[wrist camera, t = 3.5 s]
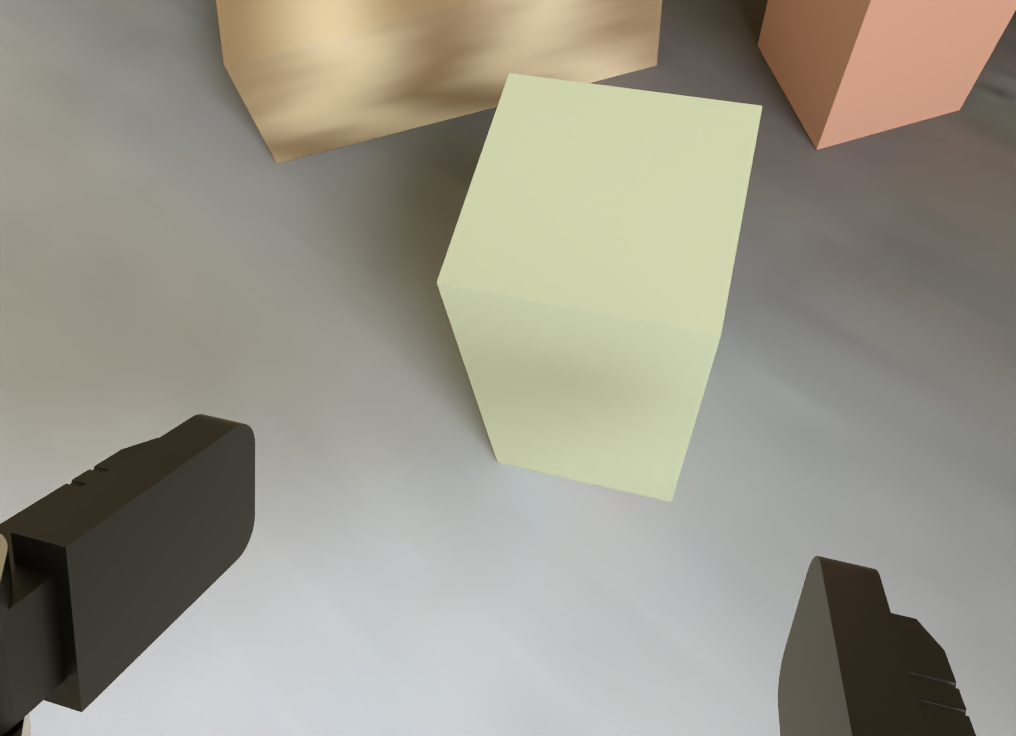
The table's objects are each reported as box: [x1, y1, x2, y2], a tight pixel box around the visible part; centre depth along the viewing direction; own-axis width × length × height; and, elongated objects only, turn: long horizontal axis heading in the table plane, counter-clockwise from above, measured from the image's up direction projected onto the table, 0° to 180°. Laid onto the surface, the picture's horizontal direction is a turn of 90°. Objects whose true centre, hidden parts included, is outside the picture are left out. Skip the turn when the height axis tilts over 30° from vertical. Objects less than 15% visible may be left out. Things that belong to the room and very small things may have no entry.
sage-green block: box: [437, 73, 762, 502], centre depth 20 cm, size 5×5×10 cm
